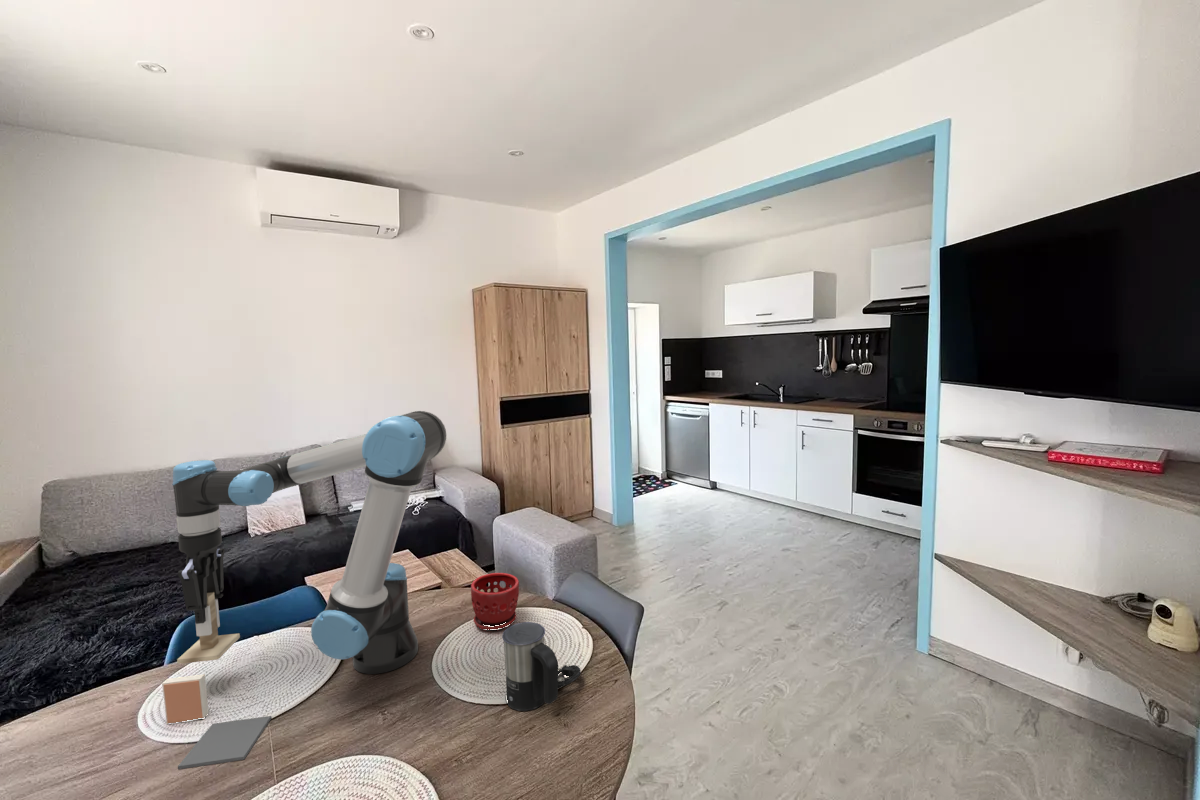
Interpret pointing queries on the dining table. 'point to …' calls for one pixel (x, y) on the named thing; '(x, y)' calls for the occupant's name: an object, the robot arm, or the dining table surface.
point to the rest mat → (225, 742)
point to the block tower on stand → (209, 641)
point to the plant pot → (494, 600)
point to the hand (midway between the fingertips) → (208, 630)
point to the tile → (185, 698)
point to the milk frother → (532, 667)
